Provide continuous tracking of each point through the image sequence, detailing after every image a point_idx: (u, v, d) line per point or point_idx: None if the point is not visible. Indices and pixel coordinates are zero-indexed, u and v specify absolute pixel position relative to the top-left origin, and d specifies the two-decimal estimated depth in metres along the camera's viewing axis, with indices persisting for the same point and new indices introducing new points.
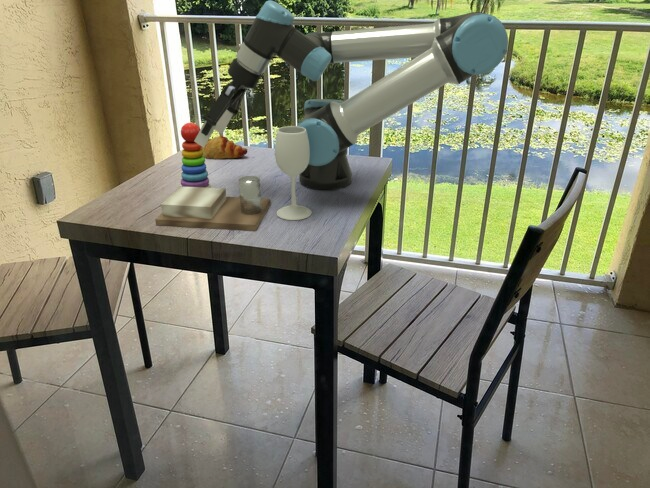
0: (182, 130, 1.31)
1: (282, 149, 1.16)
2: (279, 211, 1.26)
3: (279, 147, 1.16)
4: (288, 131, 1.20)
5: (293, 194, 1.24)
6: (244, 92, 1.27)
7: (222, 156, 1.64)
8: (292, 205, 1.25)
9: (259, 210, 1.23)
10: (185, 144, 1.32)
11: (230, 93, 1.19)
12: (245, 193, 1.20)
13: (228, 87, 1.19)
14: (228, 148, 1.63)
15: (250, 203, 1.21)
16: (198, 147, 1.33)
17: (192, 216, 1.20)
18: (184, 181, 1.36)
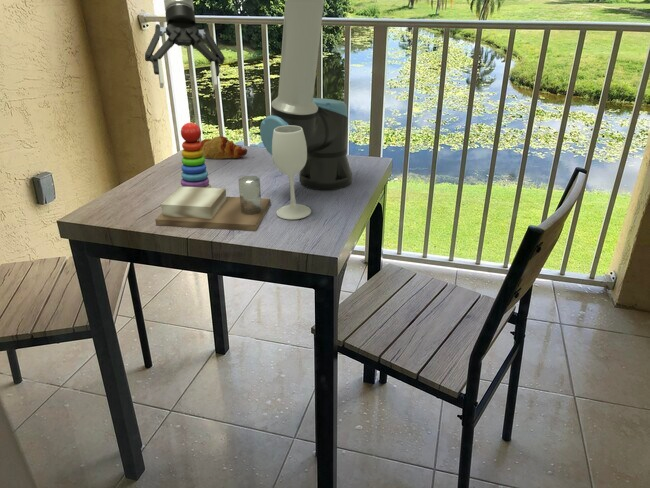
0: (182, 130, 1.31)
1: (280, 149, 1.16)
2: (279, 211, 1.26)
3: (276, 147, 1.16)
4: (284, 130, 1.20)
5: (292, 193, 1.24)
6: (189, 30, 1.34)
7: (222, 156, 1.64)
8: (292, 204, 1.25)
9: (259, 210, 1.23)
10: (185, 144, 1.32)
11: (155, 29, 1.32)
12: (245, 193, 1.20)
13: None
14: (228, 148, 1.63)
15: (250, 203, 1.21)
16: (198, 147, 1.33)
17: (192, 216, 1.20)
18: (184, 181, 1.36)
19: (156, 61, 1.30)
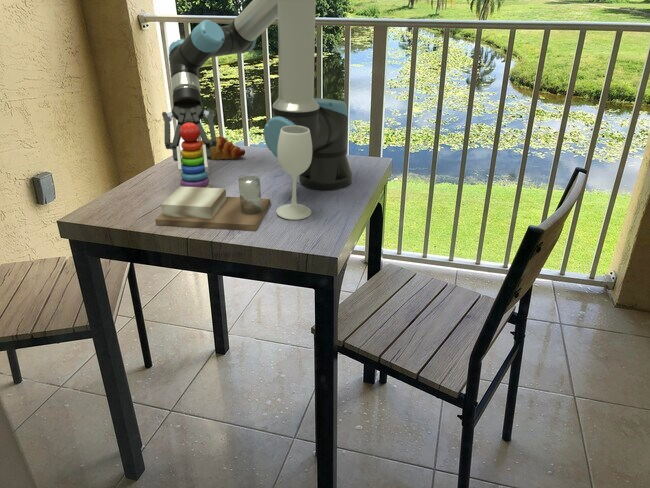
0: (181, 130, 1.30)
1: (286, 149, 1.15)
2: (279, 210, 1.26)
3: (282, 147, 1.16)
4: (291, 130, 1.20)
5: (294, 193, 1.24)
6: (193, 110, 1.36)
7: (219, 157, 1.64)
8: (292, 204, 1.25)
9: (259, 210, 1.23)
10: (184, 143, 1.32)
11: (163, 117, 1.36)
12: (245, 193, 1.20)
13: (163, 117, 1.37)
14: (225, 149, 1.63)
15: (250, 203, 1.21)
16: (197, 147, 1.33)
17: (192, 216, 1.20)
18: (184, 181, 1.36)
19: (175, 148, 1.33)
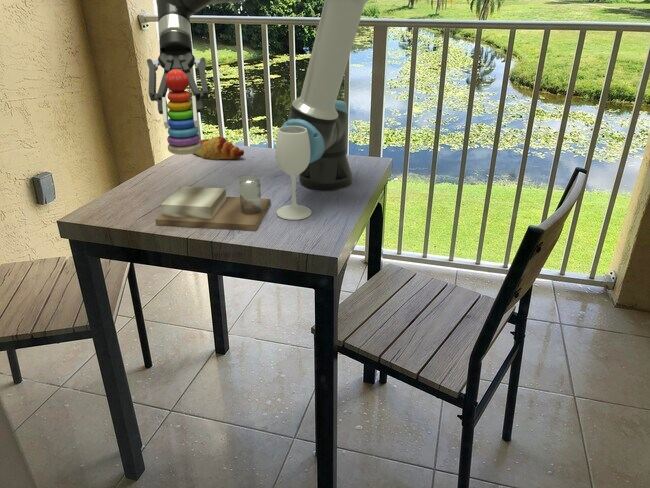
0: (166, 77, 1.14)
1: (283, 149, 1.16)
2: (279, 211, 1.26)
3: (280, 147, 1.16)
4: (288, 131, 1.20)
5: (293, 194, 1.24)
6: (182, 57, 1.20)
7: (218, 157, 1.64)
8: (292, 205, 1.25)
9: (259, 210, 1.23)
10: (170, 93, 1.15)
11: (148, 65, 1.19)
12: (245, 193, 1.20)
13: None
14: (224, 149, 1.62)
15: (250, 203, 1.21)
16: (185, 98, 1.16)
17: (192, 216, 1.20)
18: (171, 138, 1.19)
19: (161, 99, 1.17)
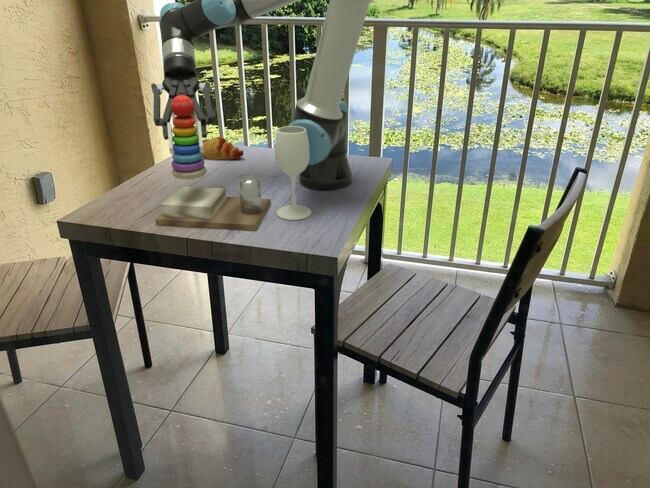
0: (172, 103, 1.13)
1: (283, 149, 1.16)
2: (279, 211, 1.26)
3: (279, 147, 1.16)
4: (288, 131, 1.21)
5: (293, 194, 1.24)
6: (187, 82, 1.19)
7: (218, 157, 1.64)
8: (292, 205, 1.25)
9: (259, 210, 1.23)
10: (176, 119, 1.15)
11: (152, 90, 1.18)
12: (245, 193, 1.20)
13: (152, 89, 1.20)
14: (224, 149, 1.62)
15: (250, 203, 1.21)
16: (191, 123, 1.15)
17: (192, 216, 1.20)
18: (176, 163, 1.18)
19: (166, 125, 1.16)
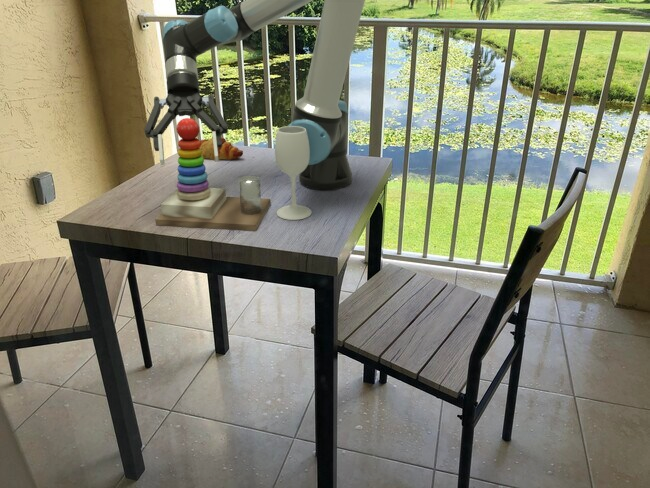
0: (178, 126, 1.16)
1: (283, 149, 1.16)
2: (279, 211, 1.26)
3: (279, 147, 1.16)
4: (288, 131, 1.21)
5: (293, 194, 1.24)
6: (190, 98, 1.21)
7: None
8: (292, 205, 1.25)
9: (259, 210, 1.23)
10: (181, 142, 1.17)
11: None
12: (245, 193, 1.20)
13: None
14: (223, 149, 1.62)
15: (250, 203, 1.21)
16: (196, 146, 1.18)
17: (192, 216, 1.20)
18: (180, 184, 1.21)
19: (156, 136, 1.18)
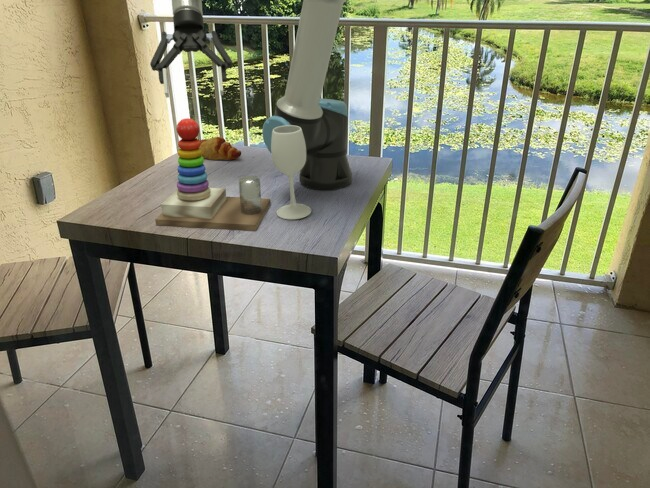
0: (178, 127, 1.16)
1: (279, 150, 1.15)
2: (279, 211, 1.26)
3: (275, 147, 1.16)
4: (283, 130, 1.20)
5: (292, 193, 1.24)
6: (195, 35, 1.30)
7: (216, 157, 1.63)
8: (291, 204, 1.25)
9: (259, 210, 1.23)
10: (181, 142, 1.17)
11: None
12: (245, 193, 1.20)
13: None
14: (222, 149, 1.62)
15: (250, 203, 1.21)
16: (196, 146, 1.18)
17: (192, 216, 1.20)
18: (180, 184, 1.21)
19: (161, 70, 1.28)
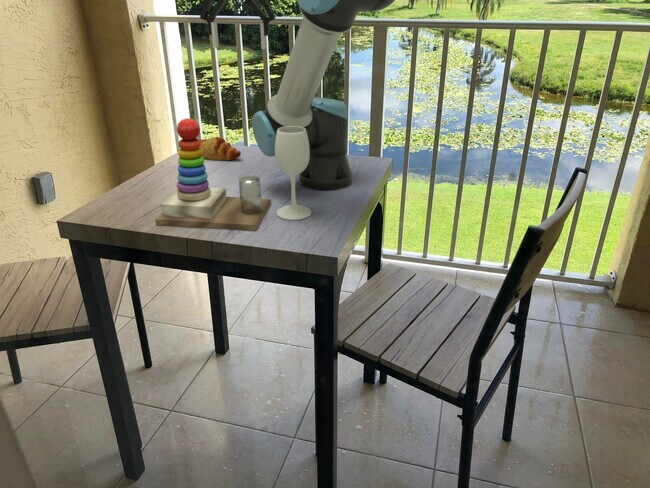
0: (178, 127, 1.16)
1: (283, 149, 1.16)
2: (279, 211, 1.26)
3: (279, 147, 1.16)
4: (287, 131, 1.21)
5: (293, 194, 1.24)
6: None
7: (215, 157, 1.63)
8: (292, 205, 1.25)
9: (259, 210, 1.23)
10: (182, 142, 1.17)
11: None
12: (245, 193, 1.20)
13: None
14: (221, 150, 1.62)
15: (250, 203, 1.21)
16: (196, 146, 1.18)
17: (192, 216, 1.20)
18: (180, 184, 1.21)
19: (210, 23, 1.39)
